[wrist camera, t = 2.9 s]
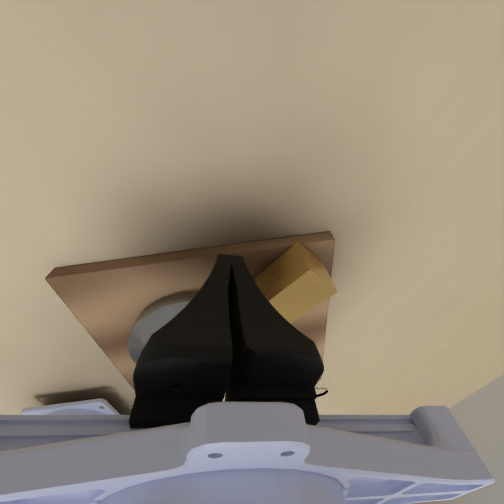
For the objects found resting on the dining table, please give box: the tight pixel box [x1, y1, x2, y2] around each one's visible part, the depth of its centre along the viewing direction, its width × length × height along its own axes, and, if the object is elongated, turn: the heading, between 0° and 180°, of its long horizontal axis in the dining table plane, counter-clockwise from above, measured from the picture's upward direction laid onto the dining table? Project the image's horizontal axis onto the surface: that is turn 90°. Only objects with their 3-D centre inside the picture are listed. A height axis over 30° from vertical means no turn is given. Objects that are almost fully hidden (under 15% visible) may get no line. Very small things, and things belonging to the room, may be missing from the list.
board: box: [45, 231, 335, 390], centre depth 19 cm, size 15×18×4 cm
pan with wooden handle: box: [128, 242, 337, 364], centre depth 17 cm, size 16×10×3 cm, turn 136°
